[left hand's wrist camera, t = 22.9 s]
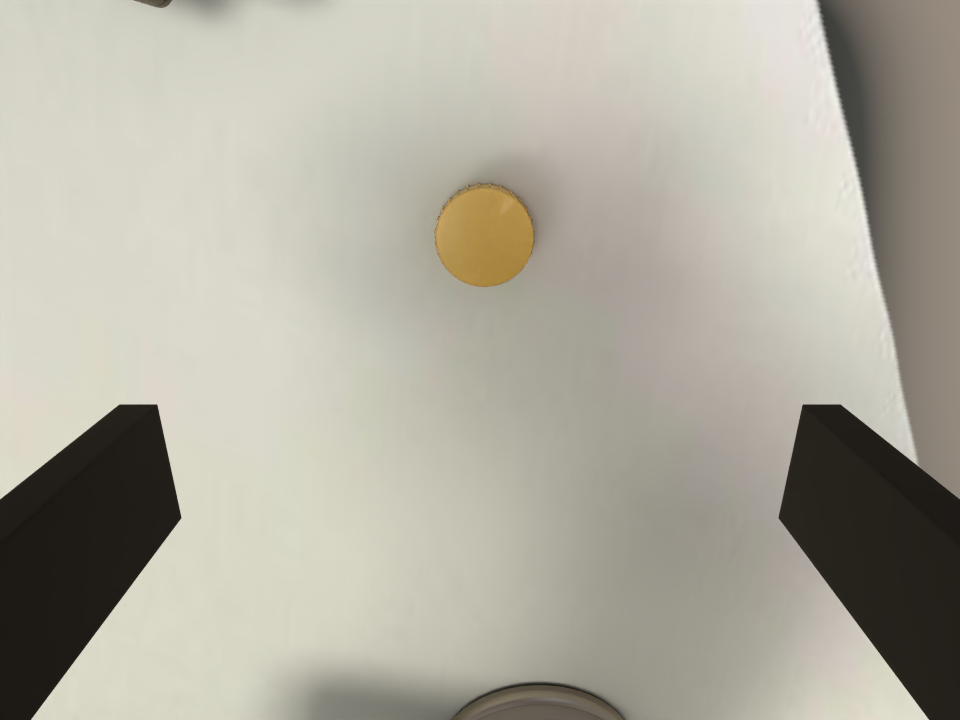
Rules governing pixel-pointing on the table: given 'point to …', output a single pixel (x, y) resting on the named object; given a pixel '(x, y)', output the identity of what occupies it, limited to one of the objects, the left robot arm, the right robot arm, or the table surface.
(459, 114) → the table surface
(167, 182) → the table surface
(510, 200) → the lid
